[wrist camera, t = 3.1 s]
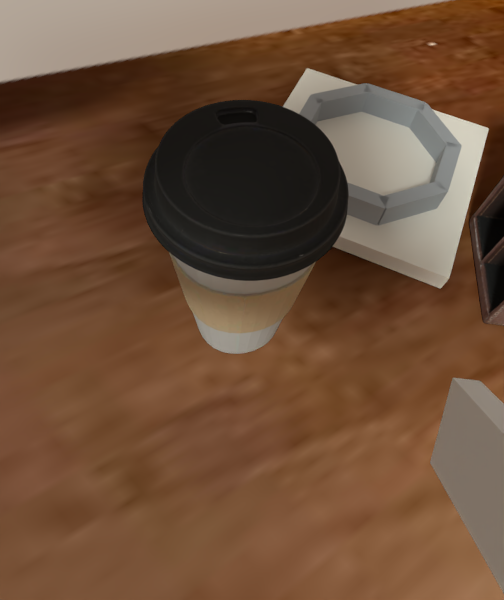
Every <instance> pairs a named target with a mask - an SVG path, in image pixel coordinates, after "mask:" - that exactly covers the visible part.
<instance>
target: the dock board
mask: <svg viewBox="0 0 504 600" xmlns="http://www.w3.org/2000/svg"><path fill="white" fill-rule="evenodd" d="M425 103H426V102H423V101H420V100H417V99H414V98H411V97H408V96H405V95H402V94H399V93H396V92H393V91H390V90H387V89H383V88H380V87H377V86H374V85H371V84H368V83H367V84H366V83H364V84H359V85H357V84H354V83H351V82H348V81H345V80H342V79H339V78H336V77H333V76H330V75H327V74H324V73H320V72H317V71H314V70H311V69H308V68H307V69H306V71H305V72H304V74H303V75H302V77H301V79H300V80H299V82H298V83H297V85H296V87H295V88H294V90H293V91H292V93H291V94H290V96H289V98H288V99H287V101H286V102H285V104H284V106H283V107H285V108H287V109H290V110H292V111H294V112H296V113H298V114H300V115H302V116H304V117H305V118H307V119H308V120H310V121H311V122H312V123H314V124H315V125H316V126H317V127H318V128H319V129H321V130H322V132H323V133H324V134H325V135H326V136H327V137H328V139H329V140H330V142H331V143H332V145H333V147H334V149H335V151H336V153H337V156H338V160H339V162H340V164H341V166H342V168H343V170H344V173H345V176H346V179H347V183H348V191H349V198H348V210H347V217H346V222H345V225H344V228H343V230H342V232H341V234H340V236H339V238H338V239H337V241H336V242H335V244H334V245H333V246H332V247H335V248H337V249H340V250H343V251H345V252H348V253H350V254H353V255H355V256H358V257H360V258H363V259H366V260H368V261H371V262H373V263H376V264H378V265H381V266H384V267H386V268H389V269H391V270H394V271H396V272H399V273H402V274H404V275H407V276H409V277H412V278H414V279H417V280H419V281H422V282H425V283H427V284H430V285H432V286H435V287H437V288H440V289H441V288H442V286H443V285H444V284H445V283H446V282H447V281H448V279H449V278H450V274H451V270H452V266H453V263H454V259H455V255H456V251H457V248H458V244H459V240H460V236H461V232H462V229H463V225H464V221H465V217H466V213H467V210H468V206H469V202H470V198H471V194H472V191H473V187H474V183H475V179H476V175H477V172H478V168H479V164H480V160H481V156H482V153H483V149H484V145H485V141H486V137H487V134H488V130H489V128H486V127H483V126H480V125H477V124H474V123H471V122H468V121H465V120H462V119H459V118H456V117H453V116H450V115H447V114H444V113H441V112H438V111H435V110H432V109H431V108H430V106H429V105H428V104H427V103H426V104H425Z"/></svg>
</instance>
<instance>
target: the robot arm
mask: <svg viewBox="0 0 504 600" xmlns="http://www.w3.org/2000/svg"><path fill="white" fill-rule="evenodd" d="M430 463H431V465H432V467H433V469H434V471H435V472H436V474H437V476H438V478H439V479H440V481H441V483H442V485H443V487H444V488H445V490H446V492H447V494H448V495H449V497H450V499H451V501H452V503H453V504H454V506H455V508H456V510H457V511H458V513H459V515H460V517H461V519H462V520H463V522H464V524H465V526H466V527H467V529H468V531H469V533H470V535H471V536H472V538H473V540H474V542H475V543H476V545H477V547H478V549H479V551H480V552H481V554H482V556H483V558H484V559H485V561H486V563H487V565H488V567H489V568H490V570H491V572H492V574H493V575H494V577H495V579H496V581H497V583H498V584H499V586H500V588H501V590H502V591H503V593H504V404H503V403H502V402H501V401H500V400H499V399H498V398H497V397H496V396H495V395H494V394H493V393H492V392H491V391H490V390H489V389H488V388H487V387H486V386H485V385H484V384H483V383H482V382H481V381H476V380H468V379H460V378H453V379H452V382H451V386H450V390H449V394H448V397H447V401H446V405H445V409H444V412H443V416H442V420H441V424H440V427H439V431H438V435H437V439H436V443H435V446H434V450H433V454H432V458H431V461H430Z"/></svg>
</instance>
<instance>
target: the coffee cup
mask: <svg viewBox="0 0 504 600" xmlns="http://www.w3.org/2000/svg"><path fill="white" fill-rule="evenodd" d="M348 198H349V191H348V183H347V179H346V176H345V173H344V170H343V168H342V166H341V164H340V162H339V160H338V156H337V153H336V151H335V149H334V147H333V145H332V143H331V142H330V140H329V139H328V137H327V136H326V135H325V134H324V133H323V132H322V130H321V129H319V128H318V127H317V126H316V125H315V124H314V123H312V122H311V121H310V120H308V119H307V118H305V117H304V116H302V115H300V114H298V113H296V112H294V111H292V110H290V109H287V108H285V107H282V106H279V105H275V104H271V103H267V102H261V101H252V100H233V101H224V102H218V103H214V104H210V105H207V106H204V107H201V108H199V109H196V110H194V111H192V112H190V113H189V114H187V115H185V116H184V117H182V118H181V119H179V120H178V121H177V122H176V123H175V124H174V125H173V126H172V127H171V128H170V129H169V130H168V131H167V132H166V134H165V135H164V137H163V138H162V140H161V142H160V144H159V146H158V148H157V149H156V150H155V152H154V153H153V155H152V157H151V158H150V160H149V162H148V165H147V167H146V171H145V174H144V181H143V209H144V213H145V217H146V220H147V223H148V225H149V227H150V229H151V231H152V232H153V234H154V236H155V237H156V238H157V240H158V241H159V242H160V243H161V244H162V246H163V247H164V248H165V249H166V250H167V251H169V253H170V256H171V259H172V262H173V265H174V268H175V270H176V273H177V276H178V279H179V282H180V284H181V287H182V290H183V293H184V296H185V299H186V301H187V303H188V305H189V307H190V309H191V311H192V312H193V314H194V317H195V320H196V322H197V325H198V328H199V330H200V332H201V334H202V336H203V338H204V339H205V340H206V342H207V343H208V344H209V345H211V346H212V347H213V348H215V349H217V350H219V351H222V352H226V353H234V354H239V353H247V352H250V351H254V350H256V349H258V348H260V347H262V346H264V345H265V344H266V343H268V342H269V340H270V339H271V338H272V337H273V336H274V334H275V332H276V330H277V328H278V326H279V324H280V323H281V321H282V319H283V317H284V316H285V315H286V314H287V313H288V312H289V311H290V309H291V307H292V305H293V304H294V302H295V300H296V298H297V296H298V294H299V293H300V291H301V289H302V287H303V285H304V283H305V281H306V280H307V278H308V276H309V274H310V272H311V270H312V269H313V267H314V264H315V262H316V261H317V260H319V259H320V258H321V257H322V256H324V255H325V254H326V253H327V252H328V251H329V250H330V249H331V248H332V246H333V245H334V244H335V242H336V241H337V239H338V238H339V236H340V234H341V232H342V230H343V228H344V225H345V222H346V217H347V210H348Z"/></svg>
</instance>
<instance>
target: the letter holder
mask: <svg viewBox="0 0 504 600" xmlns="http://www.w3.org/2000/svg"><path fill="white" fill-rule="evenodd" d="M469 225H470V233H471V240H472V248H473V255H474V262H475V269H476V276H477V283H478V290H479V299H480V304H481V312H482V319H483V322H484V323H487V324H496V325H503V326H504V176H503V178H502V179H501V180H500V182H499V183H498V184H497V185H496V186H495V188H494V189H493V190H492V192H491V193H490V194H489V196H488V197H487V198H486V200H485V201H484V202H483V204H482V205H481V206H480V207H479V208H478V210H477V211H476V212H475V213H474V214H473V215H472V217H471V219H470V221H469Z"/></svg>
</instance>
